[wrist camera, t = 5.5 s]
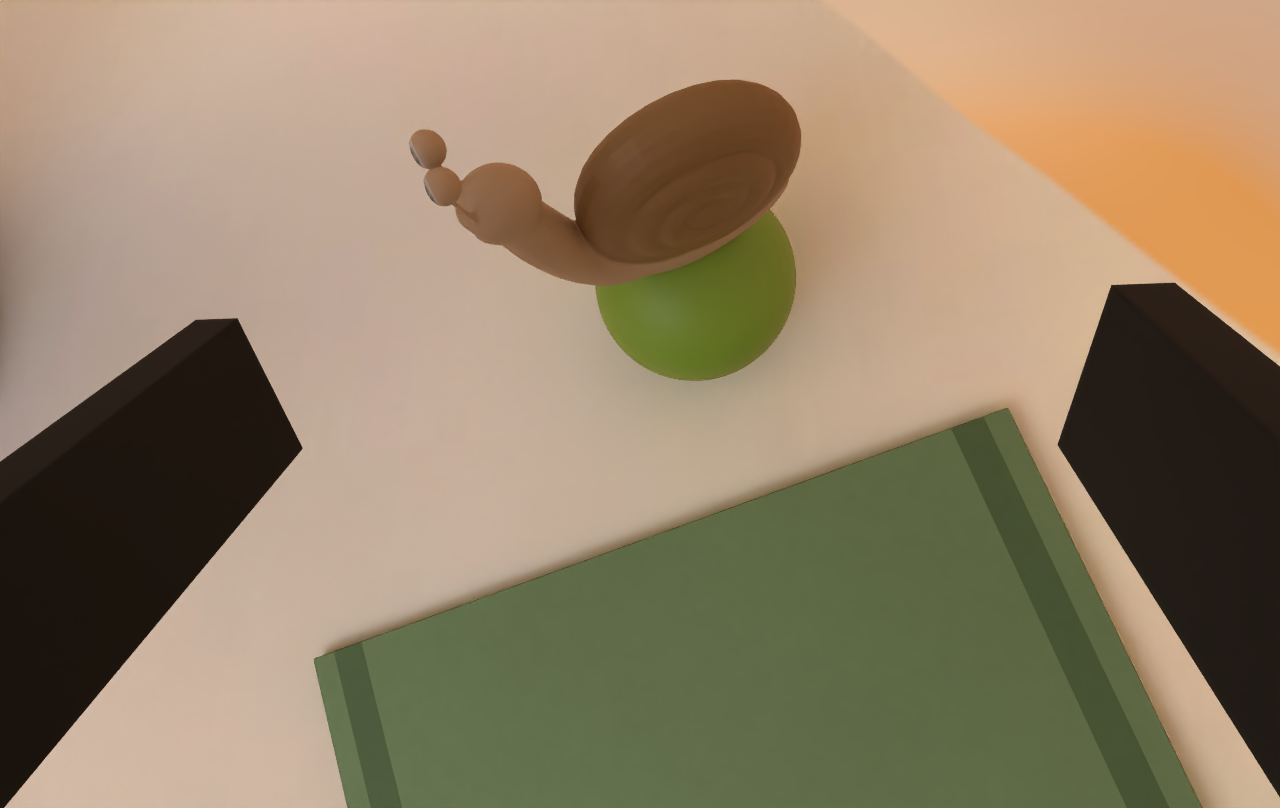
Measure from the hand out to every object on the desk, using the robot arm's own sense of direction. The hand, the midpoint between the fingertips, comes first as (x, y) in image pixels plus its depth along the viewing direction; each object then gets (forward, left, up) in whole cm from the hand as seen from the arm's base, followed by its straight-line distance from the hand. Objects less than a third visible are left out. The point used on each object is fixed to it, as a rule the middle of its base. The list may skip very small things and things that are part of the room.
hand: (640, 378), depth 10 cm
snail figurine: (-4, +1, -10) cm, 11 cm away
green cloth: (+10, -2, -10) cm, 14 cm away
